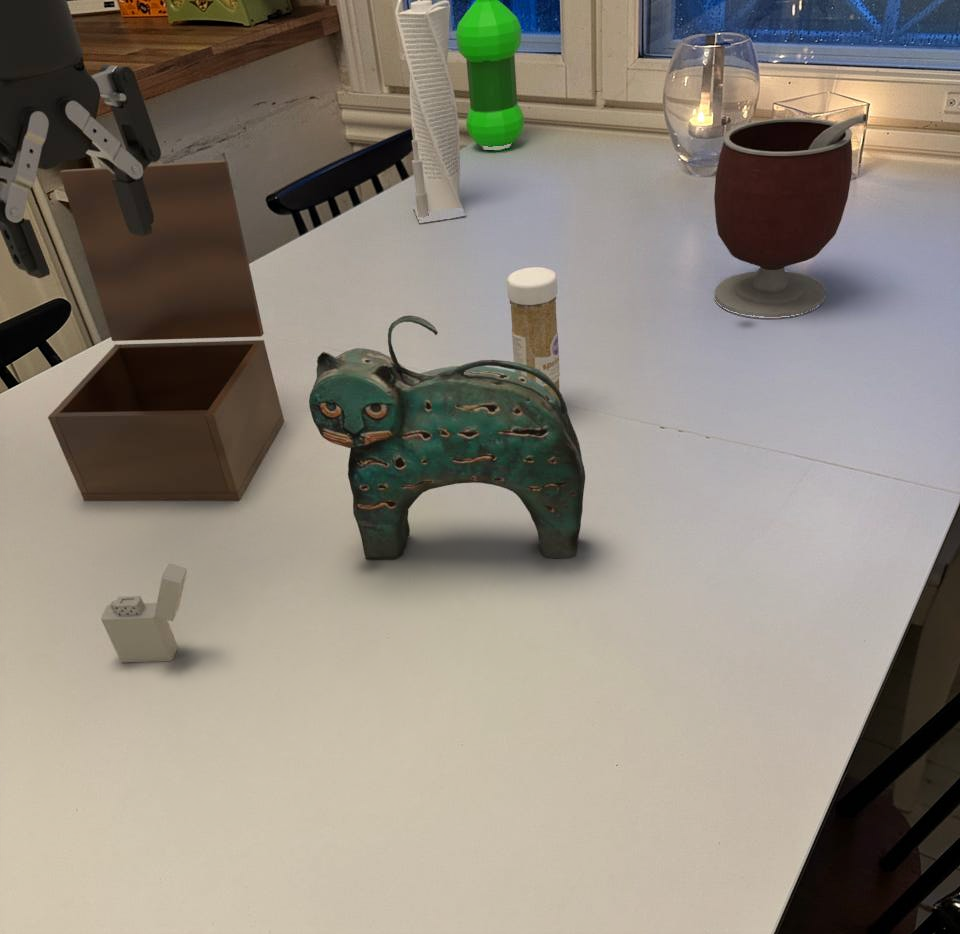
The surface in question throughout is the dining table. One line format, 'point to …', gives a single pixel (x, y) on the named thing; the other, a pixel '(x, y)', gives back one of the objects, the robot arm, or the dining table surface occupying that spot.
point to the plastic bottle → (491, 72)
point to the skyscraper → (431, 106)
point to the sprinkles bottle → (535, 322)
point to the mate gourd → (780, 208)
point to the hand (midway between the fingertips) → (91, 253)
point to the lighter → (146, 621)
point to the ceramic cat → (448, 440)
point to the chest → (170, 421)
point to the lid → (168, 254)
